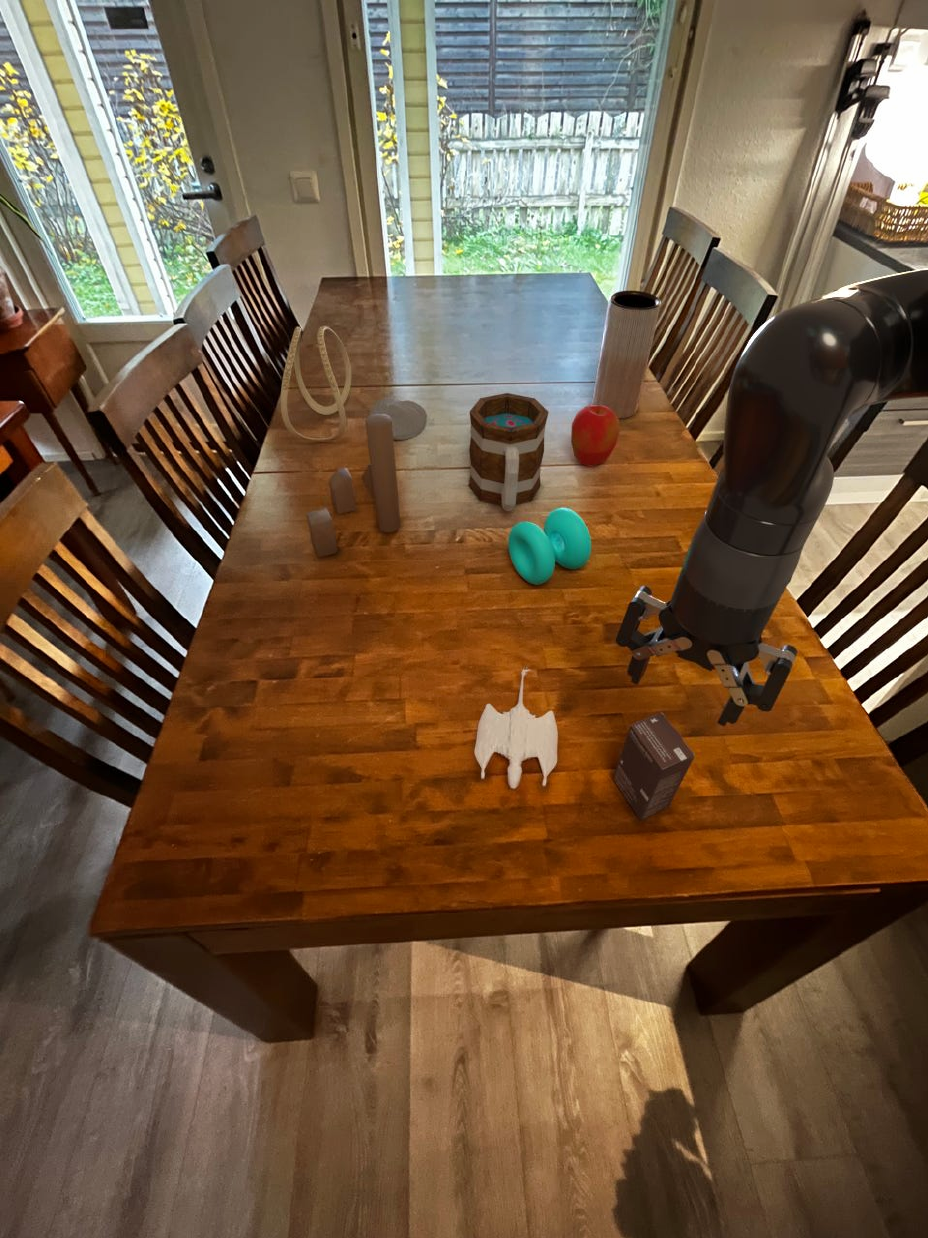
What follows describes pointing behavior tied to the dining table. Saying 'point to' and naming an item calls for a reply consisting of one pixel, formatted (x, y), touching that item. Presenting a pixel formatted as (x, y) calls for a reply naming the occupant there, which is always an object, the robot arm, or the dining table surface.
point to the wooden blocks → (376, 479)
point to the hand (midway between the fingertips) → (679, 698)
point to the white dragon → (517, 738)
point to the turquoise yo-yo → (549, 545)
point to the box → (652, 765)
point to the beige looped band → (294, 355)
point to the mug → (506, 449)
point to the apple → (594, 434)
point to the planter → (625, 350)
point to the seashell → (402, 416)
